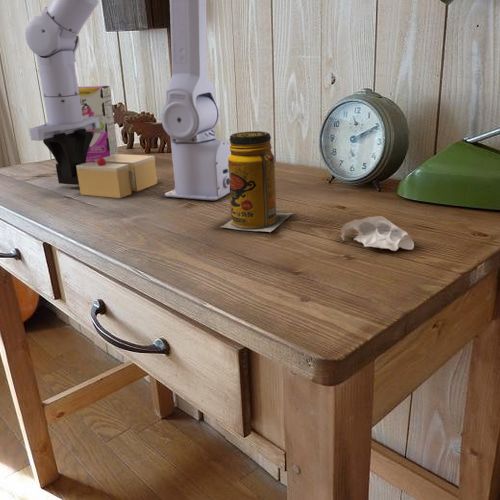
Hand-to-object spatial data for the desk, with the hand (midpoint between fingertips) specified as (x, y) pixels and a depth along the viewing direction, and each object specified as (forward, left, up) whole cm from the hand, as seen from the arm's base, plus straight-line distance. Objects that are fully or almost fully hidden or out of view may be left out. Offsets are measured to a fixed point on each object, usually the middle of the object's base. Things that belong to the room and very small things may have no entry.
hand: (74, 175), depth 95 cm
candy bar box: (+10, -15, -3) cm, 19 cm away
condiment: (-39, +8, -3) cm, 40 cm away
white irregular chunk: (-56, +12, -3) cm, 57 cm away
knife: (-5, 0, -1) cm, 5 cm away
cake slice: (-8, +2, -2) cm, 9 cm away
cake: (-8, -4, -2) cm, 9 cm away
